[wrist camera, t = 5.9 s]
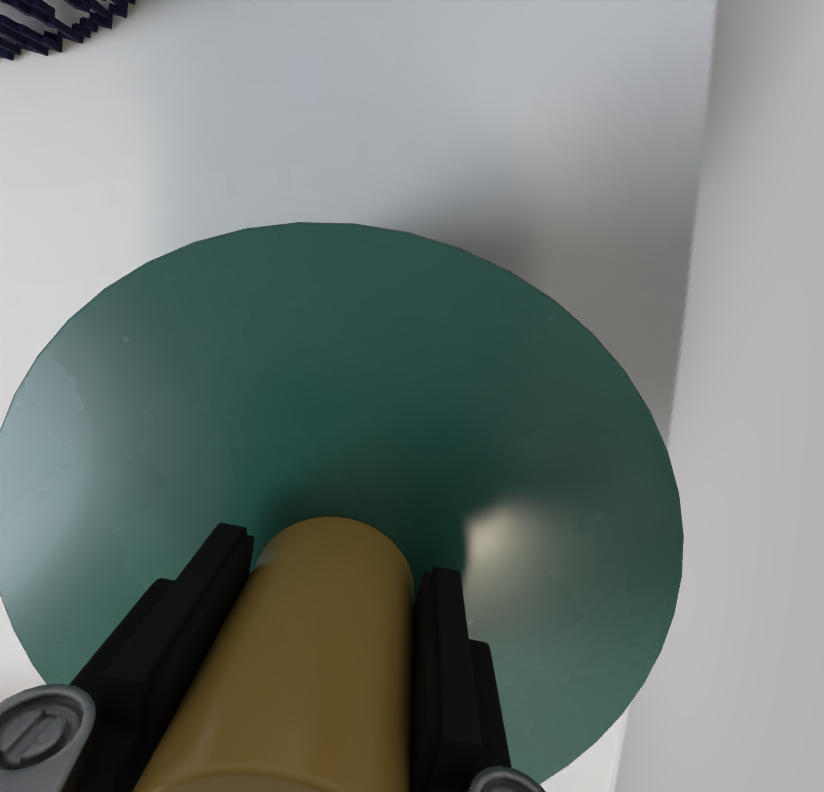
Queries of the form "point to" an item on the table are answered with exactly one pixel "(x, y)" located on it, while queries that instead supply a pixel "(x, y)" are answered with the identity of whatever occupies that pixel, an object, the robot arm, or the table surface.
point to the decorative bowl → (54, 25)
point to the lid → (341, 499)
